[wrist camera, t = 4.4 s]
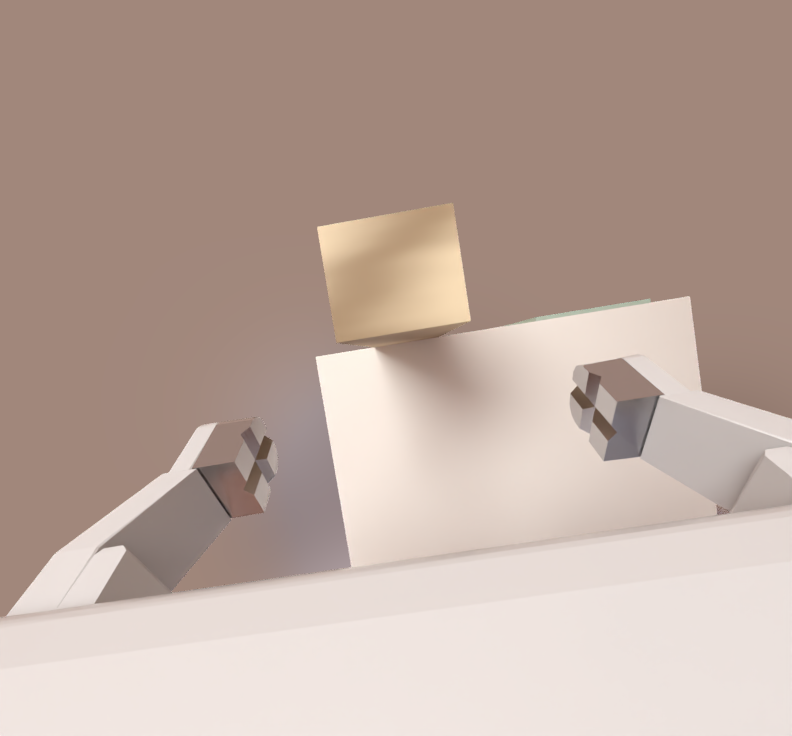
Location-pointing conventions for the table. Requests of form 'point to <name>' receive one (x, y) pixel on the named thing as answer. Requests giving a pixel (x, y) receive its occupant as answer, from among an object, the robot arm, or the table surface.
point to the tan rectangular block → (395, 277)
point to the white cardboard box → (496, 435)
